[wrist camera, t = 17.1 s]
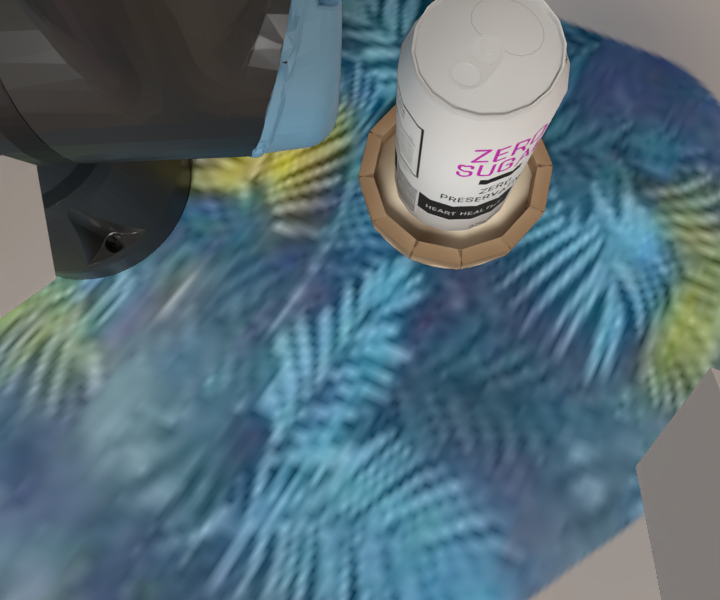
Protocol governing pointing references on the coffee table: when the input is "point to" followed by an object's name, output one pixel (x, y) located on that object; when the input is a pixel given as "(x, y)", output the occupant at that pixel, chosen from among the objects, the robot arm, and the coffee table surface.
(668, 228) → the coffee table surface
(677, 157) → the coffee table surface
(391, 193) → the ring coaster
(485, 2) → the supplement can
